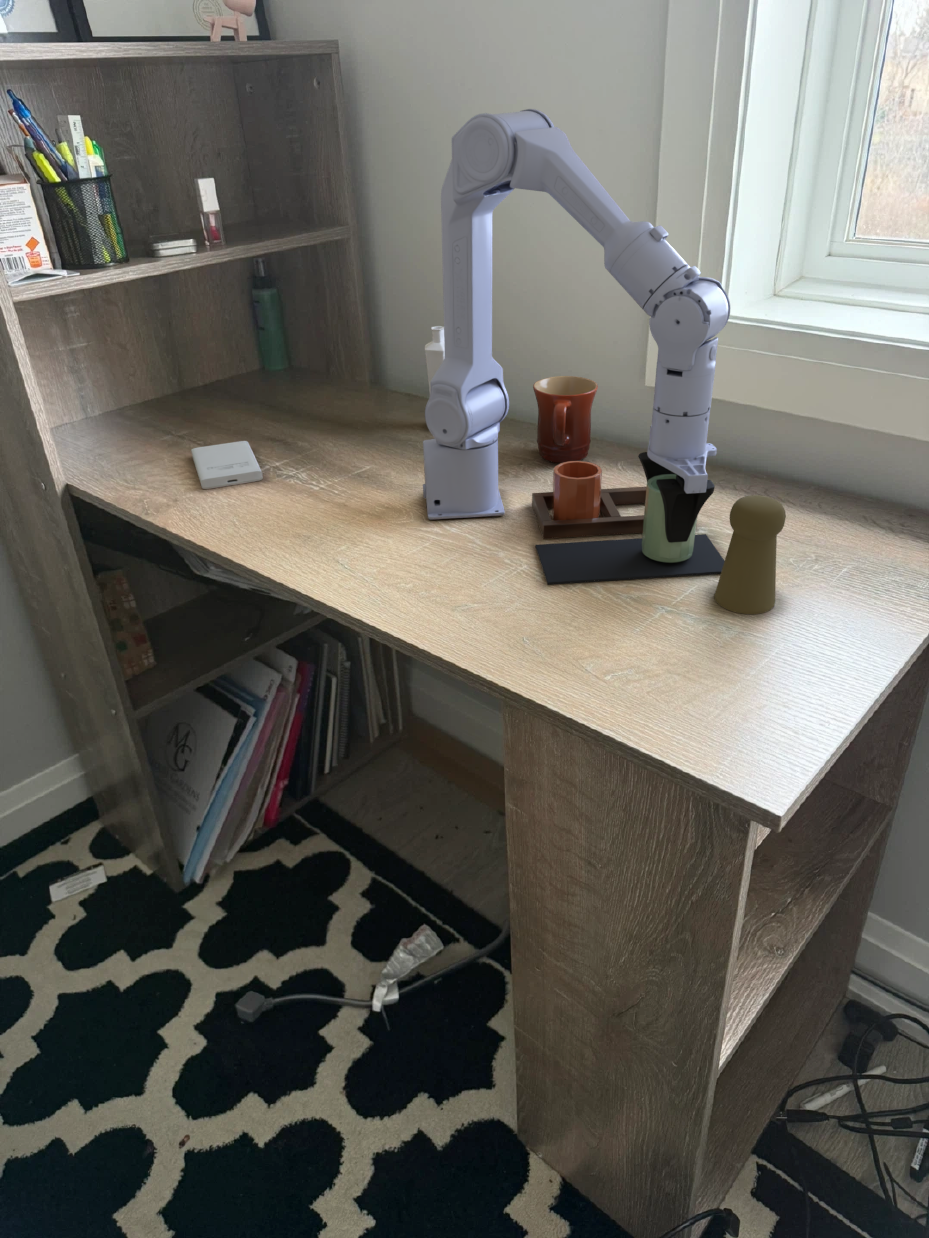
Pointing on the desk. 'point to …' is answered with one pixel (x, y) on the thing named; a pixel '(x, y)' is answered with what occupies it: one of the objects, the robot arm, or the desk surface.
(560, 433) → the mug
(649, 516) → the cup
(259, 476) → the hard drive
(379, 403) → the desk surface
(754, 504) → the olive pepper mill
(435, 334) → the perfume bottle
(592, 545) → the desk mat
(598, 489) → the terracotta cup
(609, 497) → the holder
